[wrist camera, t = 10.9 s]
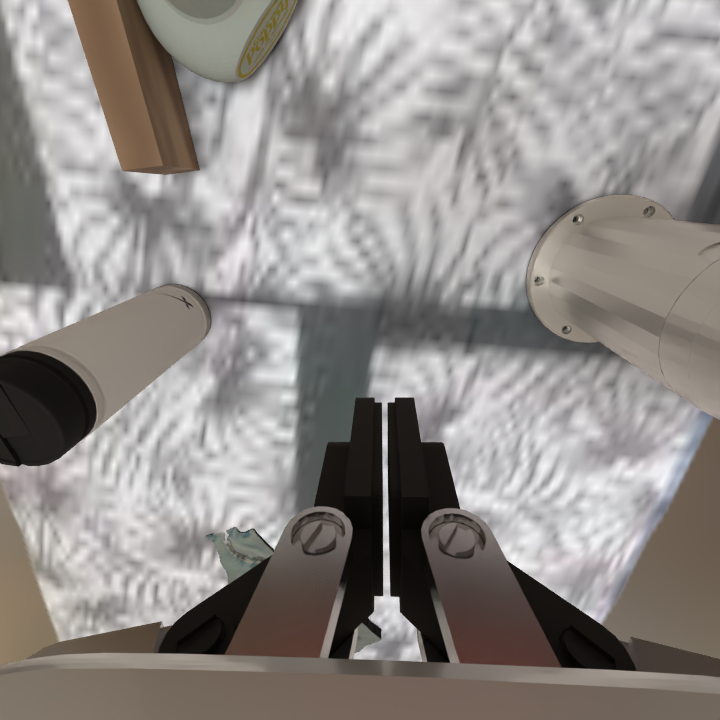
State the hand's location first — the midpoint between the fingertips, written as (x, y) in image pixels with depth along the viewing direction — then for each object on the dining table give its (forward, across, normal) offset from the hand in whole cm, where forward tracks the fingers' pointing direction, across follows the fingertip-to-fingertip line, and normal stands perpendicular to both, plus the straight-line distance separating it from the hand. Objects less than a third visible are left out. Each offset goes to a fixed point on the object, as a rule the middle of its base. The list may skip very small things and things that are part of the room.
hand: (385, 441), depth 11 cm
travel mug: (+26, +20, +4) cm, 33 cm away
